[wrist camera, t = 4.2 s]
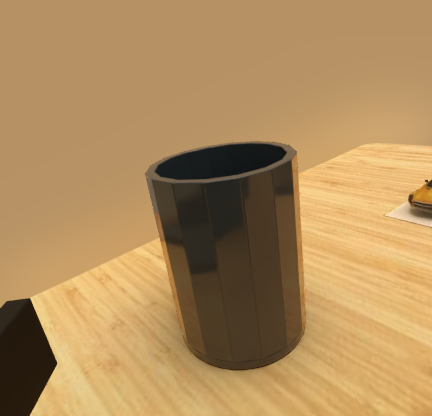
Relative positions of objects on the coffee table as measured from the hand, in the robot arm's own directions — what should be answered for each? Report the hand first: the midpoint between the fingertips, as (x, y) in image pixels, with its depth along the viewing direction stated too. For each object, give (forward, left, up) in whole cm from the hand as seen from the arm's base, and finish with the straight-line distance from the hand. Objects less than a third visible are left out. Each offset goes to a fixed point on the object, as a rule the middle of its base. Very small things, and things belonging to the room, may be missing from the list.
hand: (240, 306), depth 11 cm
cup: (0, +9, -8) cm, 12 cm away
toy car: (+21, +22, -8) cm, 32 cm away
